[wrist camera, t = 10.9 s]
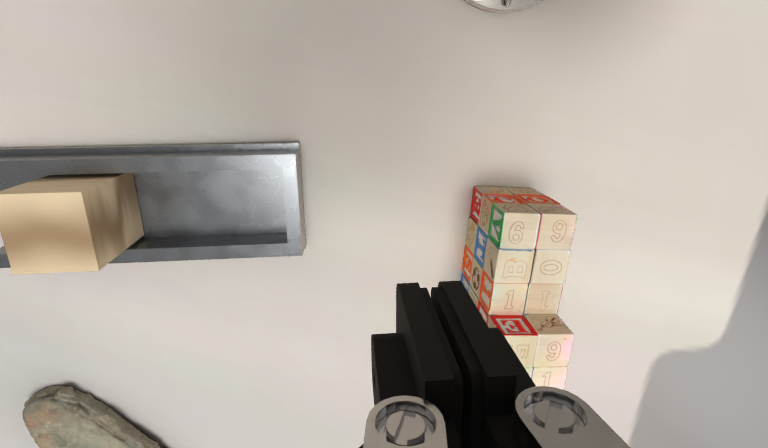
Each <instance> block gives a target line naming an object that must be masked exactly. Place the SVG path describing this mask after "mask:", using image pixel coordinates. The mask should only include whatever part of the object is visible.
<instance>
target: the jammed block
mask: <svg viewBox="0 0 768 448" xmlns="http://www.w3.org/2000/svg"><path fill="white" fill-rule="evenodd" d="M0 232H1V235H2V239H3V242H4V246H5V249H6V252H7V256H8V259H9V263H10V266H11V269H12V273H13V274H31V273H54V272H78V271H99V270H100V269H102V268H103V267H104V266H105V265H107V264H108V263H109V262H111V261H112V260H113V259H114V258H116V257H117V256H118V255H119V254H121V253H122V252H123V251H125V250H126V249H127V248H128V247H130V246H131V245H132V244H133V243H135V242H136V241H137V240H139V239H140V238H141V237H142V236H144V230H143V225H142V219H141V214H140V209H139V203H138V198H137V193H136V187H135V182H134V177H133V173H106V174H67V175H48V176H45V177H42V178H39V179H36V180H33V181H30V182H27V183H24V184H21V185H18V186H14V187H11V188H8V189H5V190H2V191H0Z"/></svg>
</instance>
